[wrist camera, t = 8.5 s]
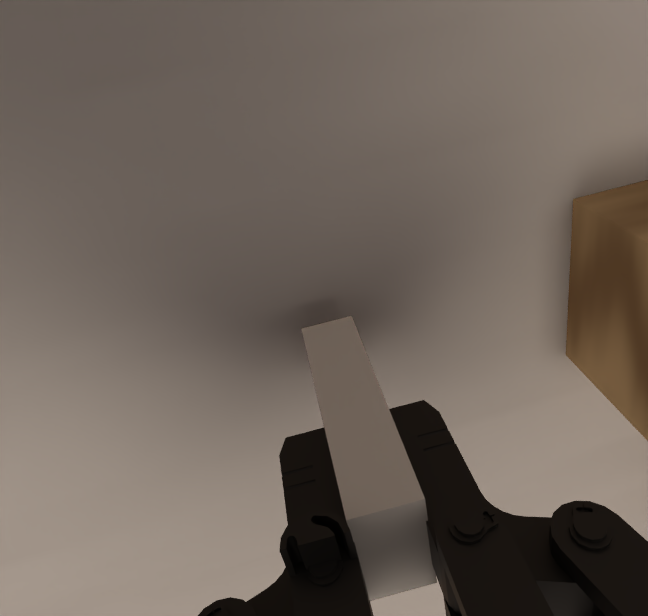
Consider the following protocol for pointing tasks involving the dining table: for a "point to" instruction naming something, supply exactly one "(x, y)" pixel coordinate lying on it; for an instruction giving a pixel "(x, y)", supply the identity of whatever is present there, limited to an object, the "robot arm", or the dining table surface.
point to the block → (611, 297)
